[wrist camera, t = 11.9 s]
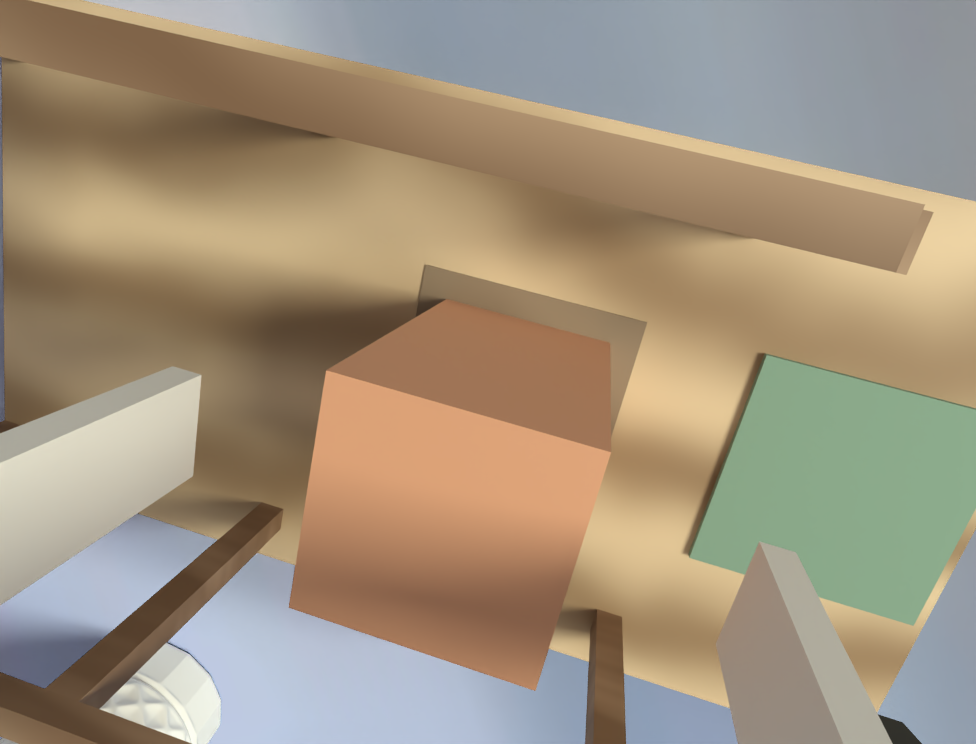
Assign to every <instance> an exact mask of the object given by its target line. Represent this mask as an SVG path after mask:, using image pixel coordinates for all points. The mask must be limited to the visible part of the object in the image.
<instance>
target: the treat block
mask: <svg viewBox="0 0 976 744" xmlns="http://www.w3.org/2000/svg"><path fill="white" fill-rule="evenodd" d="M610 455H611V364H610V343H609V342H606V341H602V340H598V339H594V338H591V337H587V336H583V335H579V334H576V333H572V332H568V331H564V330H561V329H557V328H553V327H550V326H546V325H542V324H538V323H535V322H531V321H527V320H523V319H520V318H516V317H512V316H508V315H505V314H501V313H497V312H493V311H490V310H486V309H482V308H479V307H475V306H471V305H467V304H464V303H460V302H456V301H452V300H449V299H446V300H444V301H443V302H441V303H439V304H437V305H436V306H434V307H432V308H431V309H429V310H427V311H426V312H424V313H422V314H421V315H419V316H417V317H415V318H414V319H412V320H410V321H409V322H407V323H405V324H404V325H402V326H400V327H399V328H397V329H395V330H393V331H392V332H390V333H388V334H387V335H385V336H383V337H382V338H380V339H378V340H377V341H375V342H373V343H371V344H370V345H368V346H366V347H365V348H363V349H361V350H360V351H358V352H356V353H355V354H353V355H351V356H349V357H348V358H346V359H344V360H343V361H341V362H339V363H338V364H336V365H334V366H333V367H331V368H329V369H327V370H326V374H325V381H324V387H323V393H322V400H321V406H320V412H319V419H318V425H317V431H316V438H315V444H314V450H313V457H312V463H311V469H310V476H309V482H308V489H307V495H306V501H305V508H304V514H303V520H302V527H301V533H300V539H299V546H298V552H297V558H296V565H295V571H294V577H293V584H292V590H291V597H290V603H289V608H292V609H295V610H298V611H301V612H303V613H306V614H309V615H312V616H315V617H318V618H321V619H324V620H327V621H330V622H333V623H336V624H339V625H342V626H345V627H348V628H351V629H354V630H357V631H360V632H363V633H366V634H369V635H372V636H374V637H377V638H380V639H383V640H386V641H389V642H392V643H395V644H398V645H401V646H404V647H407V648H410V649H413V650H416V651H419V652H422V653H425V654H428V655H431V656H434V657H437V658H440V659H443V660H446V661H448V662H451V663H454V664H457V665H460V666H463V667H466V668H469V669H472V670H475V671H478V672H481V673H484V674H487V675H490V676H493V677H496V678H499V679H502V680H505V681H508V682H511V683H514V684H517V685H519V686H522V687H525V688H528V689H531V690H534V691H535V690H536V687H537V684H538V681H539V678H540V675H541V671H542V668H543V665H544V662H545V659H546V656H547V653H548V649H549V646H550V643H551V640H552V637H553V634H554V631H555V627H556V624H557V621H558V618H559V615H560V612H561V609H562V605H563V602H564V599H565V596H566V593H567V590H568V587H569V583H570V580H571V577H572V574H573V571H574V568H575V565H576V561H577V558H578V555H579V552H580V549H581V546H582V543H583V539H584V536H585V533H586V530H587V527H588V524H589V521H590V517H591V514H592V511H593V508H594V505H595V502H596V499H597V495H598V492H599V489H600V486H601V483H602V480H603V477H604V473H605V470H606V467H607V464H608V461H609V458H610Z"/></svg>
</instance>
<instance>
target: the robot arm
mask: <svg viewBox="0 0 976 744" xmlns="http://www.w3.org/2000/svg"><path fill="white" fill-rule="evenodd" d="M200 387H201V375H200V374H197V373H194V372H190V371H187V370H184V369H180V368H177V367H174V366H172V367H169V368H167V369H164V370H162V371H159V372H156V373H154V374H151V375H149V376H146V377H144V378H141V379H138V380H136V381H133V382H131V383H128V384H126V385H123V386H120V387H118V388H115V389H113V390H110V391H108V392H105V393H103V394H100V395H97V396H95V397H92V398H90V399H87V400H85V401H82V402H79V403H77V404H74V405H72V406H69V407H67V408H64V409H62V410H59V411H56V412H54V413H51V414H49V415H46V416H44V417H41V418H38V419H36V420H33V421H31V422H28V423H26V424H23V425H21V426H18V427H15V428H13V429H10V430H8V431H5V432H3V433H0V605H1V604H3V603H4V602H6V601H7V600H9V599H10V598H12V597H13V596H15V595H16V594H18V593H19V592H21V591H22V590H24V589H25V588H27V587H28V586H30V585H31V584H33V583H34V582H36V581H37V580H39V579H40V578H42V577H43V576H45V575H46V574H48V573H49V572H51V571H52V570H54V569H55V568H57V567H58V566H60V565H61V564H63V563H64V562H66V561H67V560H69V559H70V558H72V557H73V556H75V555H76V554H78V553H79V552H81V551H82V550H84V549H85V548H87V547H88V546H90V545H91V544H93V543H94V542H96V541H97V540H99V539H100V538H101V537H103V536H104V535H106V534H107V533H109V532H110V531H112V530H113V529H115V528H116V527H118V526H119V525H121V524H122V523H124V522H125V521H127V520H128V519H130V518H131V517H133V516H134V515H136V514H137V513H139V512H140V511H142V510H143V509H145V508H146V507H148V506H149V505H151V504H152V503H154V502H155V501H157V500H158V499H160V498H161V497H163V496H164V495H166V494H167V493H169V492H170V491H172V490H173V489H175V488H176V487H178V486H179V485H181V484H182V483H184V482H185V481H187V480H188V479H190V478H191V477H193V471H194V459H195V447H196V435H197V423H198V411H199V399H200ZM716 647H717V652H718V656H719V661H720V665H721V670H722V674H723V679H724V683H725V688H726V692H727V696H728V701H729V705H730V710H731V714H732V719H733V723H734V728H735V732H736V737H737V741H738V744H922V743H921V742H920V741H919V740H918V739H917V738H916V737H915V736H914V735H913V733H912V732H911V731H910V730H909V729H908V728H907V727H906V726H905V725H904V724H903V722H899V721H896V720H893V719H890V718H887V717H884V716H881V715H878V714H877V712H876V710H875V708H874V706H873V704H872V702H871V700H870V698H869V696H868V694H867V692H866V690H865V688H864V686H863V684H862V682H861V680H860V678H859V676H858V674H857V672H856V670H855V668H854V666H853V664H852V662H851V660H850V658H849V656H848V654H847V652H846V650H845V648H844V646H843V644H842V642H841V640H840V639H839V637H838V635H837V633H836V631H835V629H834V627H833V625H832V623H831V621H830V619H829V617H828V615H827V613H826V611H825V609H824V607H823V605H822V603H821V601H820V599H819V597H818V595H817V593H816V591H815V589H814V587H813V585H812V583H811V581H810V579H809V577H808V575H807V573H806V571H805V569H804V567H803V565H802V563H801V561H800V559H799V557H798V555H797V553H796V552H793V551H790V550H787V549H783V548H780V547H776V546H773V545H770V544H766V543H763V542H760V541H759V543H758V546H757V548H756V550H755V553H754V555H753V557H752V560H751V562H750V564H749V567H748V569H747V571H746V574H745V576H744V579H743V581H742V583H741V586H740V588H739V590H738V593H737V595H736V597H735V600H734V602H733V604H732V607H731V609H730V611H729V614H728V616H727V618H726V621H725V623H724V625H723V628H722V630H721V632H720V635H719V637H718V640H717V642H716Z"/></svg>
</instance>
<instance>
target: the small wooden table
mask: <svg viewBox="0 0 976 744" xmlns="http://www.w3.org/2000/svg"><path fill="white" fill-rule="evenodd" d="M0 57H2V151H3V265H4V379H5V420H4V421H2V422H0V433H3V432H5V431H8V430H10V429H13V428H15V427H18V426H21V425H23V424H26V423H28V422H31V421H33V420H36V419H38V418H41V417H44V416H46V415H49V414H51V413H54V412H56V411H59V410H62V409H64V408H67V407H69V406H72V405H74V404H77V403H79V402H82V401H85V400H87V399H90V398H92V397H95V396H97V395H100V394H103V393H105V392H108V391H110V390H113V389H115V388H118V387H120V386H123V385H126V384H128V383H131V382H133V381H136V380H138V379H141V378H144V377H146V376H149V375H151V374H154V373H156V372H159V371H162V370H164V369H167V368H169V367H172V366H174V367H177V368H180V369H184V370H187V371H190V372H194V373H197V374H200V375H201V387H200V399H199V411H198V423H197V435H196V447H195V459H194V471H193V477H191V478H190V479H188V480H187V481H185V482H184V483H182V484H181V485H179V486H178V487H176V488H175V489H173V490H172V491H170V492H169V493H167V494H166V495H164V496H163V497H161V498H160V499H158V500H157V501H155V502H154V503H152V504H151V505H149V506H148V507H146V508H145V509H143V510H142V511H140V512H139V513H138V514H141V515H144V516H147V517H150V518H153V519H156V520H159V521H162V522H166V523H169V524H172V525H175V526H178V527H181V528H184V529H187V530H190V531H193V532H196V533H199V534H202V535H205V536H208V537H211V538H214V539H217V541H216V542H215V543H214V544H212V545H211V546H210V547H209V548H208V549H207V550H205V551H204V552H203V553H202V554H201V555H200V556H199V557H197V558H196V559H195V560H194V561H193V562H192V563H190V564H189V565H188V566H187V567H186V568H185V569H183V570H182V571H181V572H180V573H179V574H178V575H176V576H175V577H174V578H173V579H172V580H171V581H169V582H168V583H167V584H166V585H165V586H164V587H162V588H161V589H160V590H159V591H158V592H157V593H156V594H154V595H153V596H152V597H151V598H150V599H149V600H147V601H146V602H145V603H144V604H143V605H142V606H140V607H139V608H138V609H137V610H136V611H135V612H133V613H132V614H131V615H130V616H129V617H128V618H126V619H125V620H124V621H123V622H122V623H121V624H119V625H118V626H117V627H116V628H115V629H114V630H113V631H111V632H110V633H109V634H108V635H107V636H106V637H104V638H103V639H102V640H101V641H100V642H99V643H97V644H96V645H95V646H94V647H93V648H92V649H90V650H89V651H88V652H87V653H86V654H85V655H83V656H82V657H81V658H80V659H79V660H78V661H77V662H75V663H74V664H73V665H72V666H71V667H70V668H68V669H67V670H66V671H65V672H64V673H63V674H61V675H60V676H59V677H58V678H57V679H56V680H54V681H53V682H52V683H51V684H50V685H49V686H47V687H46V688H45V689H44V688H41V687H39V686H36V685H33V684H31V683H28V682H25V681H22V680H20V679H17V678H14V677H12V676H9V675H6V674H4V673H1V672H0V737H2V738H5V739H8V740H10V741H13V742H15V743H18V744H192V743H189V742H186V741H184V740H181V739H178V738H175V737H173V736H170V735H167V734H165V733H162V732H159V731H157V730H154V729H151V728H149V727H146V726H143V725H141V724H138V723H135V722H133V721H130V720H127V719H124V718H122V717H119V716H116V715H114V714H111V713H108V712H106V711H103V710H100V708H101V707H102V706H103V705H104V704H105V703H106V702H107V701H108V700H109V699H110V698H111V697H112V696H113V695H114V694H115V693H116V692H117V691H118V690H119V689H120V688H121V687H122V686H123V685H124V684H125V683H126V682H127V681H128V680H129V679H130V678H131V677H132V676H133V675H134V674H135V673H136V672H137V671H138V670H139V669H140V668H141V667H142V666H143V665H144V664H145V663H146V662H147V661H148V660H149V659H150V658H151V657H152V656H153V655H154V654H155V653H156V652H157V651H158V650H159V649H160V648H161V647H162V646H163V645H164V644H165V643H167V642H168V641H169V640H170V639H171V638H172V637H173V636H174V635H175V634H176V633H177V632H178V631H179V630H180V629H181V628H182V627H183V626H184V625H185V624H186V623H187V622H188V621H189V620H190V619H191V618H192V617H193V616H194V615H195V614H196V613H197V612H198V611H199V610H200V609H201V608H202V607H203V606H204V605H205V604H206V603H207V602H208V601H209V600H210V599H211V598H212V597H213V596H214V595H215V594H216V593H217V592H218V591H219V590H220V589H221V588H222V587H223V586H224V585H225V584H226V583H227V582H228V581H229V580H230V579H231V578H232V577H233V576H234V575H235V574H236V573H237V572H238V571H239V570H240V569H241V568H242V567H243V566H244V565H245V564H246V563H247V562H248V561H249V560H250V559H251V558H252V557H253V556H254V555H255V554H256V553H260V554H263V555H266V556H269V557H272V558H275V559H278V560H281V561H284V562H287V563H290V564H293V565H296V558H297V552H298V546H299V539H300V533H301V527H302V520H303V514H304V508H305V501H306V495H307V489H308V482H309V476H310V469H311V463H312V457H313V450H314V444H315V438H316V431H317V425H318V419H319V412H320V406H321V400H322V393H323V387H324V381H325V374H326V370H327V369H329V368H331V367H333V366H334V365H336V364H338V363H339V362H341V361H343V360H344V359H346V358H348V357H349V356H351V355H353V354H355V353H356V352H358V351H360V350H361V349H363V348H365V347H366V346H368V345H370V344H371V343H373V342H375V341H377V340H378V339H380V338H382V337H383V336H385V335H387V334H388V333H390V332H392V331H393V330H395V329H397V328H399V327H400V326H402V325H404V324H405V323H407V322H409V321H410V320H412V319H414V318H415V317H417V316H419V315H421V314H422V313H424V312H426V311H427V310H429V309H431V308H432V307H434V306H436V305H437V304H439V303H441V302H443V301H444V300H446V299H449V300H452V301H456V302H460V303H464V304H467V305H471V306H475V307H479V308H482V309H486V310H490V311H493V312H497V313H501V314H505V315H508V316H512V317H516V318H520V319H523V320H527V321H531V322H535V323H538V324H542V325H546V326H550V327H553V328H557V329H561V330H564V331H568V332H572V333H576V334H579V335H583V336H587V337H591V338H594V339H598V340H602V341H606V342H609V343H610V364H611V455H610V458H609V461H608V464H607V467H606V470H605V473H604V477H603V480H602V483H601V486H600V489H599V492H598V495H597V499H596V502H595V505H594V508H593V511H592V514H591V517H590V521H589V524H588V527H587V530H586V533H585V536H584V539H583V543H582V546H581V549H580V552H579V555H578V558H577V561H576V565H575V568H574V571H573V574H572V577H571V580H570V583H569V587H568V590H567V593H566V596H565V599H564V602H563V605H562V609H561V612H560V615H559V618H558V621H557V624H556V627H555V631H554V634H553V637H552V640H551V643H550V646H549V649H552V650H555V651H558V652H561V653H564V654H567V655H570V656H573V657H576V658H579V659H582V660H585V661H588V662H589V670H588V692H587V715H586V737H585V744H626V729H625V697H624V673H625V674H628V675H631V676H634V677H637V678H640V679H643V680H646V681H649V682H652V683H655V684H658V685H661V686H664V687H667V688H670V689H673V690H676V691H679V692H682V693H685V694H688V695H691V696H694V697H697V698H700V699H704V700H707V701H710V702H713V703H716V704H719V705H722V706H725V707H728V708H730V705H729V701H728V696H727V692H726V688H725V683H724V679H723V674H722V670H721V665H720V661H719V656H718V652H717V647H716V642H717V640H718V637H719V635H720V632H721V630H722V628H723V625H724V623H725V621H726V618H727V616H728V614H729V611H730V609H731V607H732V604H733V602H734V600H735V597H736V595H737V593H738V590H739V588H740V586H741V583H742V581H743V579H744V576H745V575H744V574H741V573H737V572H734V571H731V570H728V569H724V568H721V567H718V566H714V565H711V564H708V563H704V562H701V561H698V560H695V559H691V558H689V554H688V553H689V551H690V548H691V545H692V543H693V540H694V537H695V535H696V532H697V530H698V527H699V524H700V522H701V519H702V516H703V514H704V511H705V508H706V506H707V503H708V501H709V498H710V495H711V493H712V490H713V487H714V485H715V482H716V480H717V477H718V474H719V472H720V469H721V466H722V464H723V461H724V459H725V456H726V453H727V451H728V448H729V445H730V443H731V440H732V438H733V435H734V432H735V430H736V427H737V424H738V422H739V419H740V416H741V414H742V411H743V409H744V406H745V403H746V401H747V398H748V395H749V393H750V390H751V388H752V385H753V382H754V380H755V377H756V374H757V372H758V369H759V367H760V364H761V361H762V359H763V356H764V353H766V354H770V355H774V356H778V357H782V358H785V359H789V360H793V361H797V362H801V363H804V364H808V365H812V366H816V367H820V368H824V369H827V370H831V371H835V372H839V373H843V374H846V375H850V376H854V377H858V378H862V379H866V380H869V381H873V382H877V383H881V384H885V385H888V386H892V387H896V388H900V389H904V390H908V391H911V392H915V393H919V394H923V395H927V396H930V397H934V398H938V399H942V400H946V401H950V402H953V403H957V404H961V405H965V406H969V407H972V408H976V202H975V201H970V200H966V199H962V198H957V197H953V196H948V195H944V194H939V193H935V192H931V191H926V190H922V189H917V188H913V187H908V186H904V185H900V184H895V183H891V182H886V181H882V180H877V179H873V178H868V177H864V176H860V175H855V174H851V173H846V172H842V171H837V170H833V169H829V168H824V167H820V166H815V165H811V164H806V163H802V162H797V161H793V160H789V159H784V158H780V157H775V156H771V155H766V154H762V153H758V152H753V151H749V150H744V149H740V148H735V147H731V146H726V145H722V144H718V143H713V142H709V141H704V140H700V139H695V138H691V137H687V136H682V135H678V134H673V133H669V132H664V131H660V130H655V129H651V128H647V127H642V126H638V125H633V124H629V123H624V122H620V121H616V120H611V119H607V118H602V117H598V116H593V115H589V114H585V113H580V112H576V111H571V110H567V109H562V108H558V107H553V106H549V105H545V104H540V103H536V102H531V101H527V100H522V99H518V98H514V97H509V96H505V95H500V94H496V93H491V92H487V91H482V90H478V89H474V88H469V87H465V86H460V85H456V84H451V83H447V82H443V81H438V80H434V79H429V78H425V77H420V76H416V75H411V74H407V73H403V72H398V71H394V70H389V69H385V68H380V67H376V66H372V65H367V64H363V63H358V62H354V61H349V60H345V59H340V58H336V57H332V56H327V55H323V54H318V53H314V52H309V51H305V50H301V49H296V48H292V47H287V46H283V45H278V44H274V43H270V42H265V41H261V40H256V39H252V38H247V37H243V36H238V35H234V34H230V33H225V32H221V31H216V30H212V29H207V28H203V27H199V26H194V25H190V24H185V23H181V22H176V21H172V20H167V19H163V18H159V17H154V16H150V15H145V14H141V13H136V12H132V11H128V10H123V9H119V8H114V7H110V6H105V5H101V4H96V3H92V2H88V1H83V0H0ZM975 529H976V509H975V511H974V513H973V515H972V517H971V519H970V521H969V522H968V524H967V526H966V528H965V530H964V532H963V534H962V536H961V537H960V539H959V541H958V543H957V545H956V547H955V549H954V551H953V553H952V554H951V556H950V558H949V560H948V562H947V564H946V566H945V568H944V569H943V571H942V573H941V575H940V577H939V579H938V581H937V583H936V585H935V586H934V588H933V590H932V592H931V594H930V596H929V598H928V600H927V602H926V603H925V605H924V607H923V609H922V611H921V613H920V615H919V617H918V618H917V620H916V622H915V624H914V626H912V625H909V624H905V623H902V622H899V621H896V620H892V619H889V618H886V617H882V616H879V615H876V614H872V613H869V612H866V611H863V610H859V609H856V608H853V607H849V606H846V605H843V604H840V603H836V602H833V601H830V600H826V599H823V598H820V597H819V599H820V601H821V603H822V605H823V607H824V609H825V611H826V613H827V615H828V617H829V619H830V621H831V623H832V625H833V627H834V629H835V631H836V633H837V635H838V637H839V639H840V640H841V642H842V644H843V646H844V648H845V650H846V652H847V654H848V656H849V658H850V660H851V662H852V664H853V666H854V668H855V670H856V672H857V674H858V676H859V678H860V680H861V682H862V684H863V686H864V688H865V690H866V692H867V694H868V696H869V698H870V700H871V702H872V704H873V706H874V708H875V710H876V712H878V710H879V708H880V706H881V704H882V702H883V700H884V699H885V697H886V695H887V693H888V691H889V689H890V687H891V686H892V684H893V682H894V680H895V678H896V676H897V674H898V673H899V671H900V669H901V667H902V665H903V663H904V661H905V660H906V658H907V656H908V654H909V652H910V650H911V648H912V646H913V645H914V643H915V641H916V639H917V637H918V635H919V633H920V632H921V630H922V628H923V626H924V624H925V622H926V620H927V619H928V617H929V615H930V613H931V611H932V609H933V607H934V605H935V604H936V602H937V600H938V598H939V596H940V594H941V592H942V591H943V589H944V587H945V585H946V583H947V581H948V579H949V578H950V576H951V574H952V572H953V570H954V568H955V566H956V565H957V563H958V561H959V559H960V557H961V555H962V553H963V551H964V550H965V548H966V546H967V544H968V542H969V540H970V538H971V537H972V535H973V533H974V531H975Z"/></svg>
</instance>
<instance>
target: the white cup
mask: <svg viewBox="0 0 976 744" xmlns="http://www.w3.org/2000/svg"><path fill="white" fill-rule="evenodd" d="M100 710H103V711H106V712H108V713H111V714H114V715H116V716H119V717H122V718H124V719H127V720H130V721H133V722H135V723H138V724H141V725H143V726H146V727H149V728H151V729H154V730H157V731H159V732H162V733H165V734H167V735H170V736H173V737H175V738H178V739H181V740H184V741H186V742H189V743H192V744H207V743H208V742H209V741H210V739H211V738H212V736H213V735H214V733H215V732H216V730H217V729H218V727H219V726H220V719H221V699H220V696H219V694H218V692H217V689H216V687H215V685H214V683H213V680H212V678H211V676H210V675H209V673H208V672H207V671H206V670H205V669H204V668H203V667H202V666H201V665H200V664H199V663H198V662H197V661H196V660H195V659H194V658H193V657H192V656H191V655H190V654H188V653H186V652H184V651H182V650H180V649H178V648H176V647H174V646H172V645H170V644H168V643H165V644H164V645H163V646H162V647H161V648H160V649H159V650H158V651H157V652H156V653H155V654H154V655H153V656H152V657H151V658H150V659H149V660H148V661H147V662H146V663H145V664H144V665H143V666H142V667H141V668H140V669H139V670H138V671H137V672H136V673H135V674H134V675H133V676H132V677H131V678H130V679H129V680H128V681H127V682H126V683H125V684H124V685H123V686H122V687H121V688H120V689H119V690H118V691H117V692H116V693H115V694H114V695H113V696H112V697H111V698H110V699H109V700H108V701H107V702H106V703H105V704H104V705H103V706H102V707H101V708H100ZM0 744H18V743H15V742H13V741H10V740H8V739H5V738H1V739H0Z"/></svg>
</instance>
